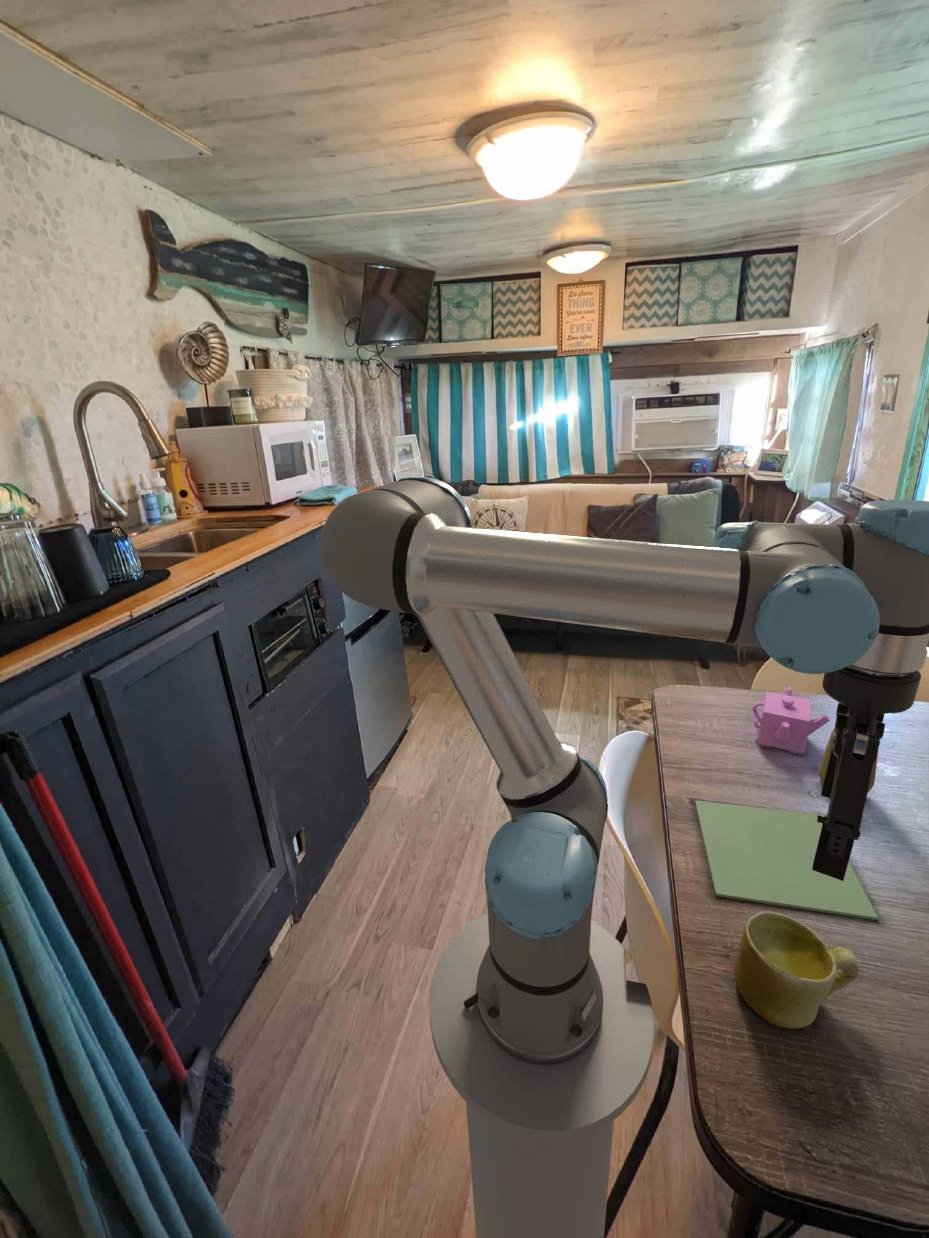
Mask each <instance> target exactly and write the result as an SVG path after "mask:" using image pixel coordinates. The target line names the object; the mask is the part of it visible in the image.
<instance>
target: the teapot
mask: <svg viewBox="0 0 929 1238" xmlns="http://www.w3.org/2000/svg"><path fill="white" fill-rule="evenodd" d="M792 691H793V687H792V685H790V684H787V685H786V686H785V689H784V693H783V694H782V693H778V692H777V693H776V692H772V691H766V692H765V697H764V700H760V701H756V702H755V703H754V704H752V712H753V715H754V716H755V718H756V719H755V720H754V721H753V726H754V727H755V728H757V729H759V733H758V739H757V744H758V745H759V744H760V745H761V746H762V747H764V748H772V747H773V748H778V749H782V750H786V751H788V752H789V753H791V754H795V755H798V754H805V750H806V745H807V741H808V737H809V736H810V735H812V734H813V733H815V732H816V731H817V730H819V729H820V728H822V727H823V726H824V725H826V724H827V723H829V722H830V721H831V718H830V717H829V716H827V715H824V714H822V715H821V716H817V717H815V718H813V719H811V711H812V710H811V708H812V707H811V705H812V704H811V703H812V701H811V699H810V698H804V697H799V696H793V694H792V693H793V692H792ZM761 706H763V709H762V714H761V715H760V714H759V712H758V710H757V709H758V707H761Z"/></svg>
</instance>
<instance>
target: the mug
mask: <svg viewBox="0 0 929 1238" xmlns="http://www.w3.org/2000/svg"><path fill="white" fill-rule="evenodd" d="M744 926H745V927H744V930H743V934H742V936H741V939H740V943H739V948H738V952H737V957H736V962H735V966H734V972H733V973H734V974H733V975H734V981H735V986H736V988H737V990H738V993H739V994H740V996H741V997H742V999H744V1001H745V1002H746V1004H747V1005H748V1007H749V1008H750V1009H752V1010H753V1011H754V1012H755V1013H756V1014H757V1015H758V1016H759V1017H761V1018H762V1019H764V1020H765V1021H766V1022H767V1023H768V1024H770V1025H772V1026H774V1027H777V1028H784V1029H789V1030H790V1029H791V1030H798V1029H804V1028H806V1027H809V1026H810V1025H811V1024H813V1022H814V1021H815V1019H816V1018H817V1015H818V1011H819V1008H820V1007H821V1005H822V1003H823V1001H825V1000H826V999H827V998H828V997H830V996H831V995H832V994H833V993H835V992H836V991H838V990H839V991H840V990H841V989H844V988H845V987H847V986H848V985H849V984H850V983H851V982H854V981H855V980H856V979H858V978H859V975H860V964H859V962H858V959H857V957H856V955H855V954H854V952H853V951H851V950H849V949H848V948H845V947H841V946H834V947H831V948H829V947H828V946H827V945H826V943H825V942H824V940H823V939H822V938H821V937H820V936H819V935H818V934H817V933H816V932H815V931H814V930H812V929H811V928H810V927H808V925H806V924H805V923H803V922H802V921H800V920H798V919H795V918H794V917H791V916H789V915H787V914H784V913H780V912H776V911H771V910H767V911H759V912H757V913H755V915H753V916H751V917H749V918H748V920H747V921H746V923H745V925H744Z"/></svg>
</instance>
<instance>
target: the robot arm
mask: <svg viewBox="0 0 929 1238" xmlns="http://www.w3.org/2000/svg"><path fill="white" fill-rule="evenodd" d="M319 553H320V559H321V562H322V566H323V568H324V571H325V572H326V574H327V576H328V578H329V579H330V581H331V582H332V584H333V585H334V586H335V587H336V588H337V590H339V591H340V592H341V593H342V594H344V595H345V596H347V597H348V598H350V599H351V600H353V601H355V602H358V603H360V604H363V605H365V606H367V607H371V608H375V609H379V610H380V609H381V610H386V611H390V612H396V613H403V614H411V615H415V616H416V618H417V620H418V622H419V623H420V626H421V627H422V629H423V630H424V632H425V634H426V637H427V638H428V640H429V641H430V642H429V643H430V644H431V645H432V648H433V650H434V651H435V653H436V654H437V656H438V658H439V660H440V662H441V664H442V665H443V667H444V670H445V671H446V673H447V675H448V677H449V679H450V681H451V682H452V684H453V687H454V688H455V690H456V692H457V694H458V696H459V697H460V699H461V701H462V703H463V705H464V707H465V708H466V710H467V712H468V714H469V716H470V718H471V719H472V721H473V723H474V725H475V727H476V728H477V730H478V733H479V734H480V736H481V738H482V740H483V742H484V743H485V746H486V747H487V749H488V751H489V753H490V755H491V756H492V759H493V760H494V762H495V764H496V767H497V768H498V769H499V773H498V777H497V779H496V783H495V784H496V791H497V792H498V794H499V795H500V797H501V799H502V802H503V803H504V805H505V807H506V808H507V810H508V813H509V814H510V820H508V821H506V822H505V823H503V825H501V826H500V827H499V829H498V830H497V831H496V833H495V834H494V835H493V836H492V838H491V841H490V844H489V846H488V849H487V854H486V861H485V866H484V874H485V876H484V884H485V891H486V905H487V912H488V927H489V946H488V948H487V951H486V953H485V955H484V957H483V960H482V962H481V965H480V968H479V972H478V976H477V984H476V992H477V993H476V994H475V995H473V996H472V997H470V998H469V999H467V1000H465V1001H464V1006H465V1008H466V1009H468V1008H469V1007H471V1006H473V1005H474V1004H476V1003H477V1005H478V1010H479V1014H480V1017H481V1020H482V1022H483V1025H484V1027H485V1028H486V1030H487V1032H488V1033H489V1035H490V1036H491V1038H492V1039H493V1040H494V1041H495V1042H496V1043H497V1044H498V1045H499V1046H500V1047H501V1048H502V1049H503V1050H505V1051H506V1052H507V1053H509V1054H510V1055H512V1056H514V1057H516V1058H517V1059H520V1060H522V1061H525V1062H528V1063H532V1064H538V1065H553V1064H559V1063H563V1062H566V1061H568V1060H571V1059H573V1058H574V1057H576V1056H578V1055H579V1054H581V1053H582V1052H583V1051H584V1050H585V1049H586V1048H587V1047H588V1046H589V1045H590V1044H591V1042H592V1041H593V1039H594V1038H595V1036H596V1034H597V1032H598V1030H599V1027H600V1024H601V1019H602V1011H603V991H602V985H601V981H600V977H599V975H598V972H597V969H596V967H595V964H594V962H593V959H592V957H591V955H590V934H591V920H592V915H593V904H594V897H595V891H596V890H595V889H596V883H597V875H598V868H599V863H600V856H601V850H602V843H603V837H604V830H605V826H606V825H605V824H606V822H607V818H608V813H609V804H608V801H609V800H608V789H607V785H606V782H605V779H604V777H603V775H602V773H601V772H600V770H599V769H598V768H597V766H596V765H595V764H594V763H593V762H592V761H591V760H590V759H588V758H587V757H582V756H580V755H579V753H578V752H577V750H576V749H575V747H574V746H573V745H572V743H568V742H565V741H562V740H559V739H558V738H557V736H556V733H555V732H554V730H553V728H552V726H551V724H550V721H549V720H548V718H547V716H546V714H545V712H544V710H543V708H542V706H541V704H540V703H539V700H538V699H537V696H536V694H535V693H534V691H533V688H532V687H531V685H530V683H529V681H528V679H527V677H526V675H525V673H524V671H523V669H522V667H521V665H520V663H519V662H518V659H517V657H516V655H515V653H514V651H513V649H512V648H511V645H510V644H509V641H508V640H507V638H506V636H505V634H504V632H503V630H502V628H501V626H500V624H499V622H498V619H497V618H496V616H495V615H496V614H497V615H504V616H512V617H519V618H528V619H537V620H545V621H551V622H558V623H559V622H561V623H568V624H575V625H576V624H577V625H583V626H591V627H599V628H606V629H607V628H608V629H613V630H614V629H615V630H621V631H622V630H624V631H629V632H630V631H631V632H637V633H647V634H653V635H654V634H655V635H662V636H670V637H678V638H685V639H694V640H701V641H702V640H703V641H708V642H709V641H710V642H717V643H718V642H719V643H723V644H724V643H725V644H731V645H732V644H734V645H739V646H745V647H746V646H747V647H752V648H760V649H762V650H764V652H765V653H766V655H767V656H769V657H770V658H771V659H772V660H774V661H775V662H776V663H777V664H779V665H780V666H783V667H784V668H787V669H789V670H791V671H793V672H796V673H800V674H807V675H821V674H823V678H822V683H821V684H822V688H823V691H824V692H825V693H826V695H828V696H829V697H830V698H831V699H833V700H834V701H836V702H838V703H837V706H836V711H835V712H836V713H835V717H836V718H835V723H834V728H835V729H834V728H833V730H834V731H835V734H836V736H835V737H834V739H833V744H834V748H832V749H831V753H830V757H829V762H828V766H827V770H826V774H825V779H824V783H823V787H822V786H821V791H820V796H821V797H823V798H824V797H825V798H828V799H829V804H828V808H827V814H826V815H824V817H823V816H819V815H818V817H817V822H819V823H823V824H822V828H821V833H820V837H819V841H818V845H817V849H816V853H815V857H814V862H813V866H812V870H814V871H816V872H819V873H822V874H825V875H828V876H830V877H833V878H836V879H839V880H841V881H843V880H844V877H845V873H846V869H847V866H848V862H849V863H850V859H851V854H852V851H853V847H854V844H855V841H858V840H859V839H860V837H861V831H860V829H861V826H862V820H863V815H864V811H865V806H866V801H867V796H868V793H869V792H868V787H869V782H870V777H871V772H872V767H873V763H874V762H875V761H876V756H877V751H878V752H879V749H878V746H879V747H880V745H881V739H882V738H883V737H884V735H885V728H886V723H884V719H885V714H899V713H903V712H906V711H908V710H910V709H911V708H912V707H913V705H914V704H915V700H916V696H917V693H918V690H919V686H920V682H921V680H922V674H921V672H920V670H922V669H923V668H924V666H925V662H926V660H927V656H928V650H927V648H929V500H919V499H918V500H917V499H886V500H881V499H878V500H877V499H876V500H872V501H868V502H867V503H864V504H863V505H862V506H861V507H860V509H859V512H858V515H857V516H856V517H855V518H854V522H851V523H850V522H847V523H842V524H841V523H839V524H837V523H836V524H829V523H828V524H827V523H797V522H794V523H793V522H792V523H791V522H762V521H761V522H760V521H759V520H751V521H748V522H727V523H723V524H721V525H720V526H718V528H716V530H715V533H714V537H713V540H712V546H709V547H708V546H699V545H698V546H696V545H686V544H673V543H661V542H650V541H635V540H623V539H613V538H612V539H611V538H601V537H588V536H587V537H586V536H576V535H574V536H573V535H561V534H549V533H539V532H538V533H537V532H525V531H514V530H501V529H489V528H477V527H473V520H472V514H471V511H470V508H469V506H468V504H467V502H466V501H465V499H464V498H463V497H462V495H461V494H460V493H459V492H458V491H457V490H456V489H455V488H454V487H452V485H449V484H448V483H447V482H445V481H442V480H439V479H436V478H433V477H428V476H415V477H414V476H413V477H409V476H408V477H403V478H400V479H398V480H395V481H392V482H389V483H387V484H384V485H381V486H378V487H375V488H372V489H369V490H365V491H361V492H358V493H355V494H352V495H349V496H348V497H347V498H345V499H344V500H342V501H340V502H339V503H338V504H337V505H336V507H334V508H333V509H332V511H331V512H330V513H329V515H328V516H327V518H326V521H325V523H324V524H323V526H322V530H321V534H320V540H319ZM867 792H868V793H867Z"/></svg>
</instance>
